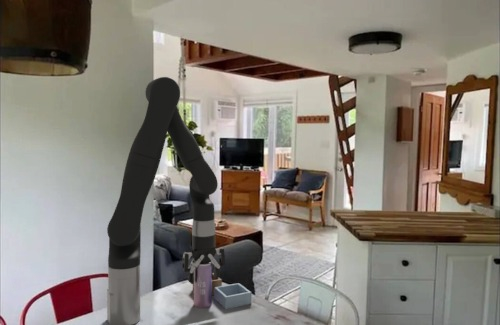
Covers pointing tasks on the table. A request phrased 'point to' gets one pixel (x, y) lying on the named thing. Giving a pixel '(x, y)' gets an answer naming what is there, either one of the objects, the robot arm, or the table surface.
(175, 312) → the table surface
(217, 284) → the walnut box
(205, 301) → the beverage can
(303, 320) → the table surface
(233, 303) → the tray
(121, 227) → the robot arm
